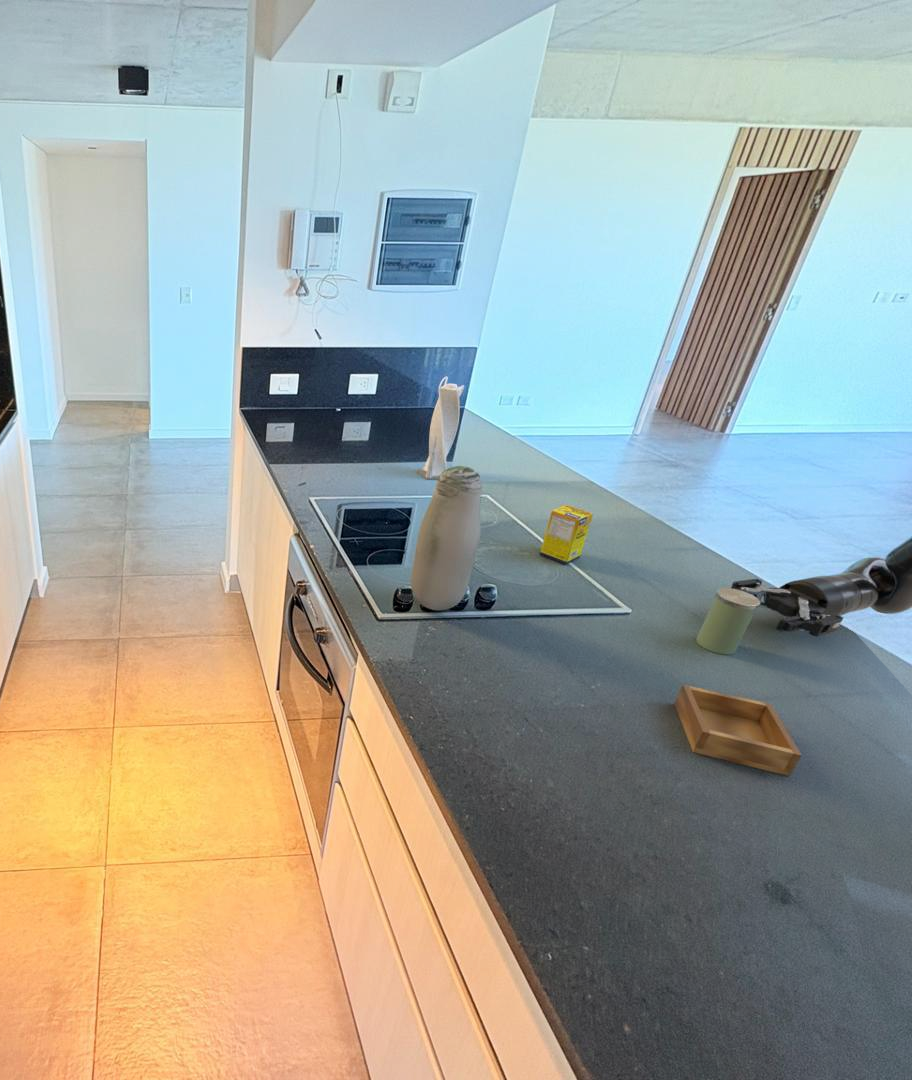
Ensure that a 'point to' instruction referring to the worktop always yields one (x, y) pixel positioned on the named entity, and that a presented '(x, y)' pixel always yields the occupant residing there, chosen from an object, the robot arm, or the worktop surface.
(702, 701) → the holder
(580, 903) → the worktop surface
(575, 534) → the supplement box
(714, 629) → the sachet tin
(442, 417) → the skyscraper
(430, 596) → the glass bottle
